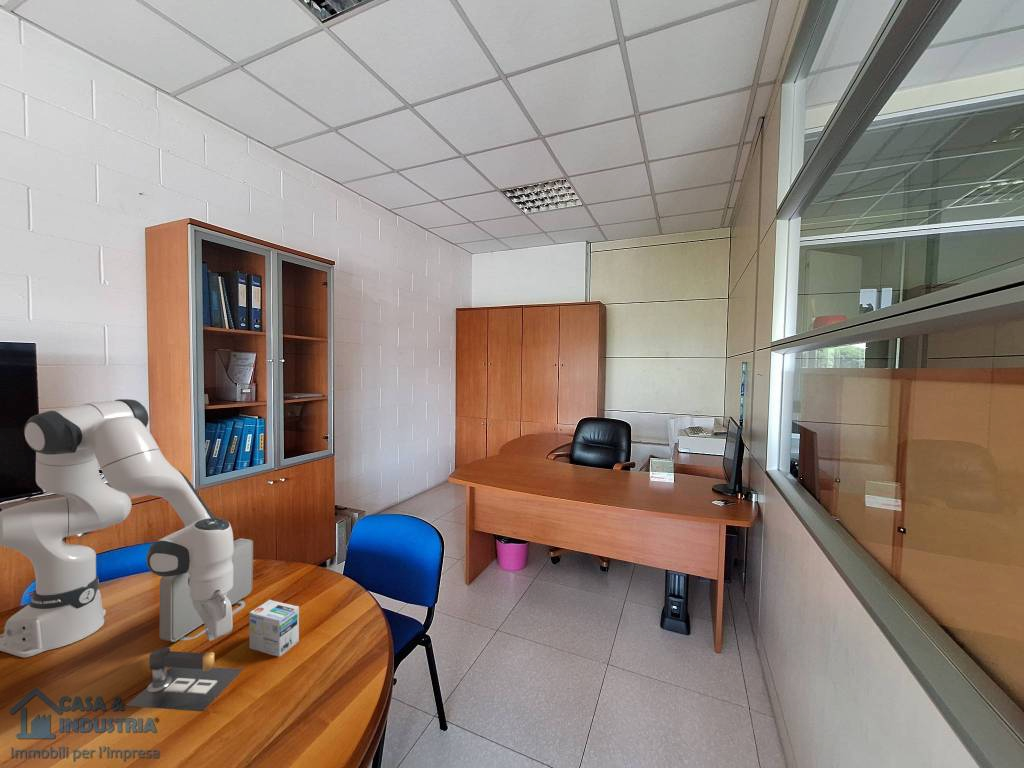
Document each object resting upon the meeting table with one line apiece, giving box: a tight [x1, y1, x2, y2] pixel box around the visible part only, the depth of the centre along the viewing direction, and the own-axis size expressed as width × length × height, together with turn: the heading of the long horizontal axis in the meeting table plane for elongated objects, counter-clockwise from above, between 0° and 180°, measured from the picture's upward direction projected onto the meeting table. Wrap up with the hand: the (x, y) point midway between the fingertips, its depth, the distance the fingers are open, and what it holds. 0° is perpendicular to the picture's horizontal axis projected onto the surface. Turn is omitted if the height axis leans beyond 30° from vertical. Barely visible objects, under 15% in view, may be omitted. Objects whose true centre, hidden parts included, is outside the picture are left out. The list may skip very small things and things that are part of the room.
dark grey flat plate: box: [125, 666, 244, 712], centre depth 92 cm, size 18×12×1 cm, turn 88°
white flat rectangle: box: [187, 679, 217, 694], centre depth 91 cm, size 4×4×1 cm
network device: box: [159, 537, 254, 643], centre depth 116 cm, size 26×9×20 cm, turn 168°
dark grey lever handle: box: [149, 646, 215, 671], centre depth 91 cm, size 15×4×3 cm, turn 88°
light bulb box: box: [248, 599, 300, 658], centre depth 106 cm, size 11×7×11 cm, turn 74°
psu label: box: [164, 678, 195, 693], centre depth 92 cm, size 4×4×1 cm
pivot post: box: [146, 667, 172, 692], centre depth 92 cm, size 4×4×5 cm
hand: (211, 637), depth 98 cm, fingers closed
